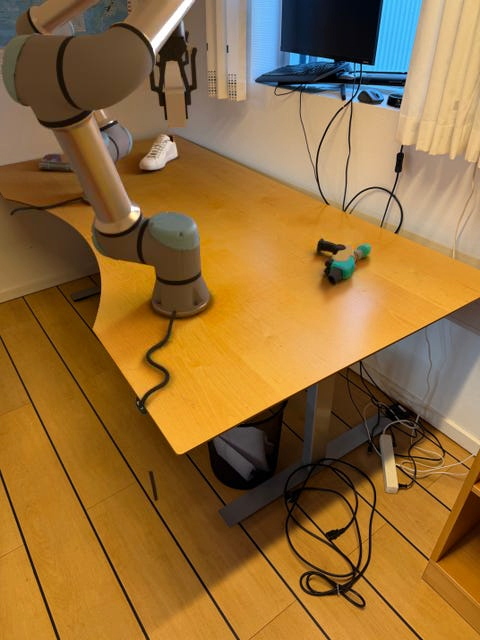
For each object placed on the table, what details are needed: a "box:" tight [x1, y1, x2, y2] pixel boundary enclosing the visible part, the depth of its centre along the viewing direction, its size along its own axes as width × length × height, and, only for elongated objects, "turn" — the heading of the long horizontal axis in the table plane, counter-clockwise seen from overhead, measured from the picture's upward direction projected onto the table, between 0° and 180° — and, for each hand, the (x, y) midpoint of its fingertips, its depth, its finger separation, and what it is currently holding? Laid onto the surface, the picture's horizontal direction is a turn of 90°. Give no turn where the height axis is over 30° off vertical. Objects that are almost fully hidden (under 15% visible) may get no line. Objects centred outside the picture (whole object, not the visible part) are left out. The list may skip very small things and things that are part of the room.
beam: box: [164, 61, 187, 128], centre depth 147 cm, size 60×5×8 cm, turn 8°
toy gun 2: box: [316, 237, 372, 286], centre depth 138 cm, size 4×26×15 cm
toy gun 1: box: [37, 153, 73, 172], centre depth 215 cm, size 4×19×15 cm
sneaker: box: [139, 133, 179, 171], centre depth 214 cm, size 10×29×12 cm, turn 163°
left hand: (173, 87), depth 167 cm, fingers closed on beam, 5 cm apart
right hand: (176, 118), depth 131 cm, fingers closed on beam, 5 cm apart
